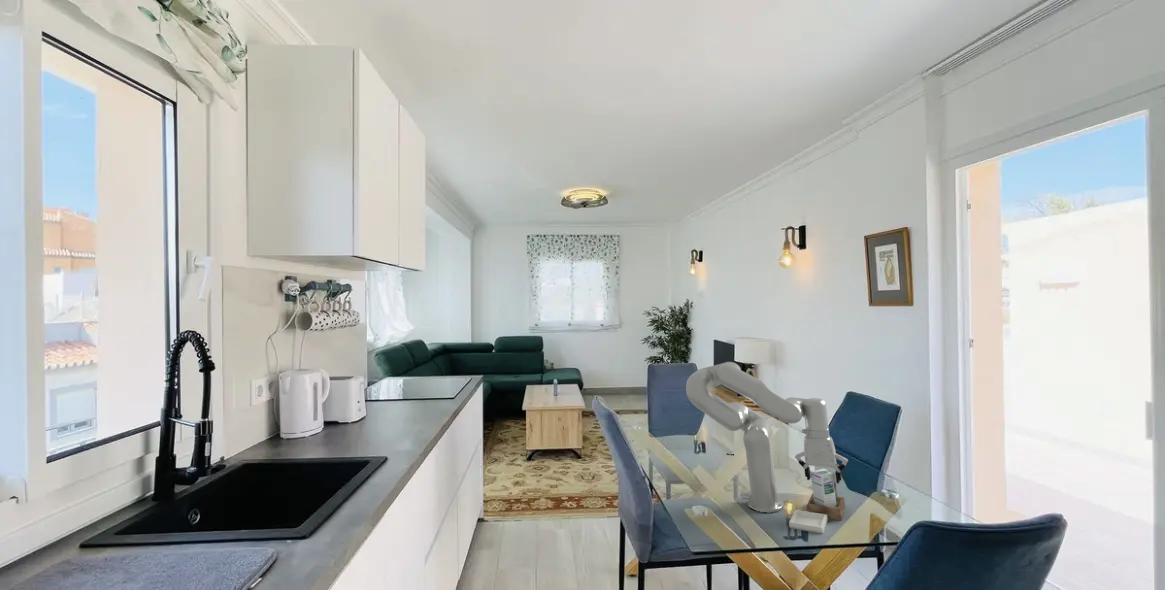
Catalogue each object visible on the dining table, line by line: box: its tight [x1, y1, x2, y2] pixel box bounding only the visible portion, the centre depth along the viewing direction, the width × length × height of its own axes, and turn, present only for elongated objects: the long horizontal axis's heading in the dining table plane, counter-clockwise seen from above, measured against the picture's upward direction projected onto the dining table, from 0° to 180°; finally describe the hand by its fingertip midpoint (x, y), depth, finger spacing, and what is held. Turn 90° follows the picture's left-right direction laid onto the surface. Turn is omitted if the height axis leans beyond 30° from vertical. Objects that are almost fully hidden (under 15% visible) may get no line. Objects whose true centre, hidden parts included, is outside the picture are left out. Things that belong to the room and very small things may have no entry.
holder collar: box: [806, 492, 846, 521], centre depth 173 cm, size 11×11×4 cm
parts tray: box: [788, 509, 829, 534], centre depth 165 cm, size 10×10×2 cm
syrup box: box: [810, 468, 839, 508], centre depth 173 cm, size 6×6×14 cm
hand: (823, 480), depth 173 cm, fingers open, 9 cm apart
